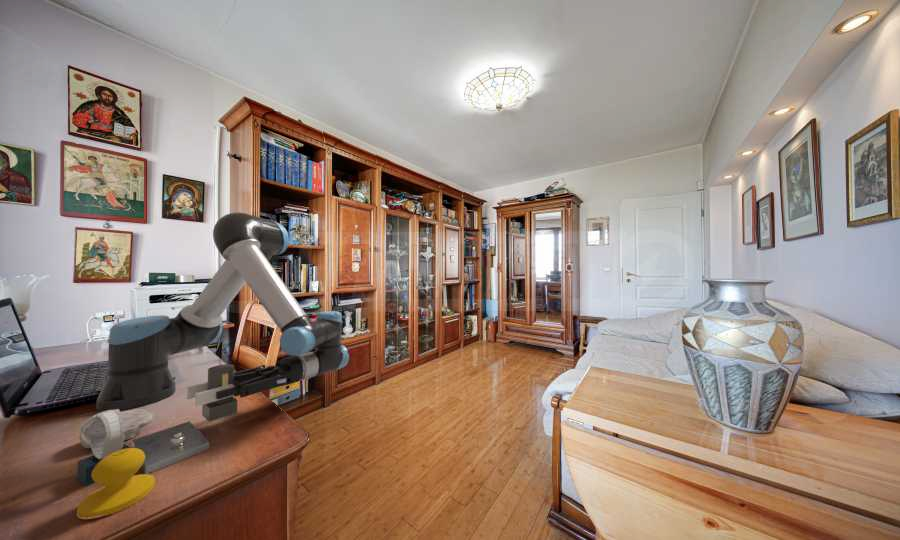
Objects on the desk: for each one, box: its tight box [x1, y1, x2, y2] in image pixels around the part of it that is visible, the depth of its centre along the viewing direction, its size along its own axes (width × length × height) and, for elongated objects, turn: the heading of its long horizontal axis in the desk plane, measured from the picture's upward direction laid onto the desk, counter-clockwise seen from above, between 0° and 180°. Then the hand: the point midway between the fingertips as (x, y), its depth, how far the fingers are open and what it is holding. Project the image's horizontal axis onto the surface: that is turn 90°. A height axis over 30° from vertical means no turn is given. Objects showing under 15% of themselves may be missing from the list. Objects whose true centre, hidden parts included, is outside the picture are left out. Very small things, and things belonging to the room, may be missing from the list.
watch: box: [76, 409, 131, 487], centre depth 50 cm, size 6×8×11 cm
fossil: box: [79, 408, 155, 449], centre depth 60 cm, size 9×6×10 cm
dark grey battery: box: [201, 363, 238, 423], centre depth 65 cm, size 6×5×11 cm
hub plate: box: [131, 420, 210, 475], centre depth 57 cm, size 14×9×4 cm, turn 56°
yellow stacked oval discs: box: [76, 447, 156, 518], centre depth 44 cm, size 8×8×8 cm
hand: (191, 396), depth 60 cm, fingers closed on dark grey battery, 5 cm apart
